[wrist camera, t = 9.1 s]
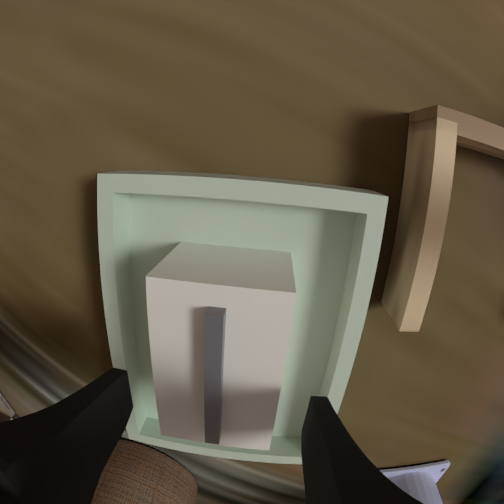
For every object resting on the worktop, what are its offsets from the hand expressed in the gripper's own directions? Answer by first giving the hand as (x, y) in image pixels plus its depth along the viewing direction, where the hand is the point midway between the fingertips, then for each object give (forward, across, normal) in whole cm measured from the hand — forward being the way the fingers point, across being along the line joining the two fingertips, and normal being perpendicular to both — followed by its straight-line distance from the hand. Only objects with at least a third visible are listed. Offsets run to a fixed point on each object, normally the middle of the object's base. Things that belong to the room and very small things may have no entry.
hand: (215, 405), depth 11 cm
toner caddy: (+5, 0, -1) cm, 5 cm away
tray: (+6, 0, 0) cm, 6 cm away
